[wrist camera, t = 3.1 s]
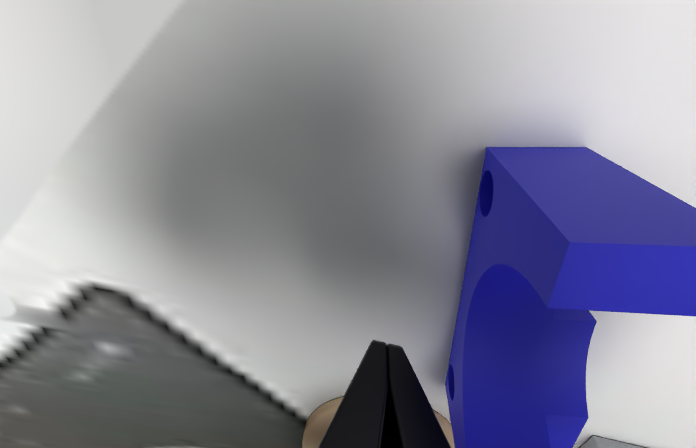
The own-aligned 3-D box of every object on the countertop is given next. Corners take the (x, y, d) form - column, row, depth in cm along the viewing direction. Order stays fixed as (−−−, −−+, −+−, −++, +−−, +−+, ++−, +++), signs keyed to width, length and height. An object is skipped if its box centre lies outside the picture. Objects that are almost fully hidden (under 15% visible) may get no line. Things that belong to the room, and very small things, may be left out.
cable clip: (539, 389, 16) (609, 555, 11) (444, 381, 17) (468, 535, 12) (634, 146, 10) (878, 253, 5) (485, 145, 11) (569, 242, 6)
